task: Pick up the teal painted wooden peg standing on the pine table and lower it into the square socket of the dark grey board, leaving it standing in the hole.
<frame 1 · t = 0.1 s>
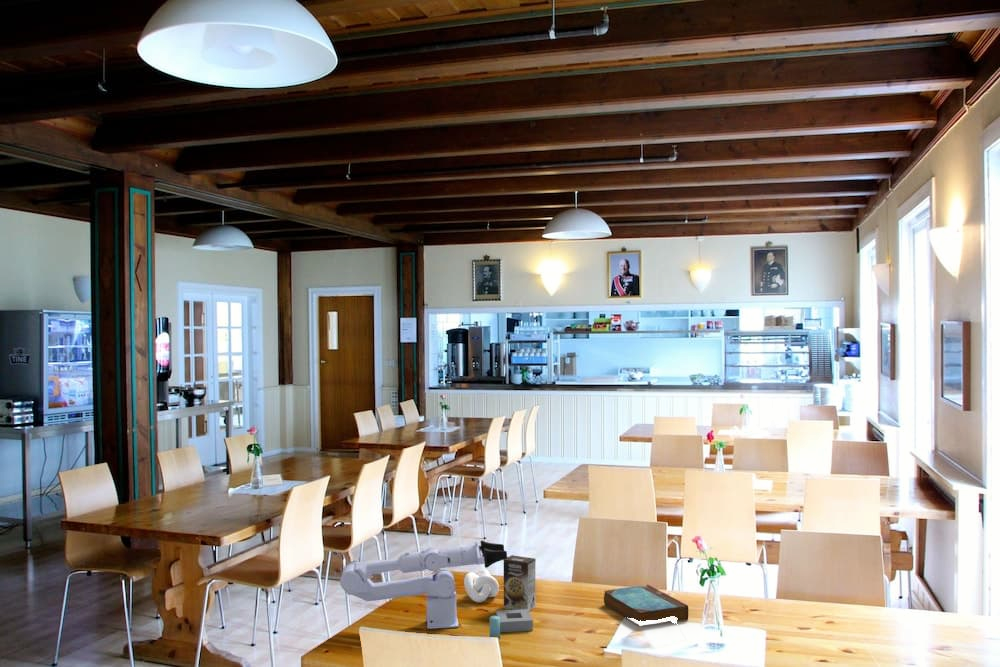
hand: (505, 551, 244), 22 cm above the table, tool horizontal, fingers open, 7 cm apart
white knot sculpture: (479, 598, 266), on the table
peg: (494, 638, 230), on the table
coffee box: (519, 608, 256), on the table
socket board: (514, 625, 240), on the table
book: (644, 614, 250), on the table
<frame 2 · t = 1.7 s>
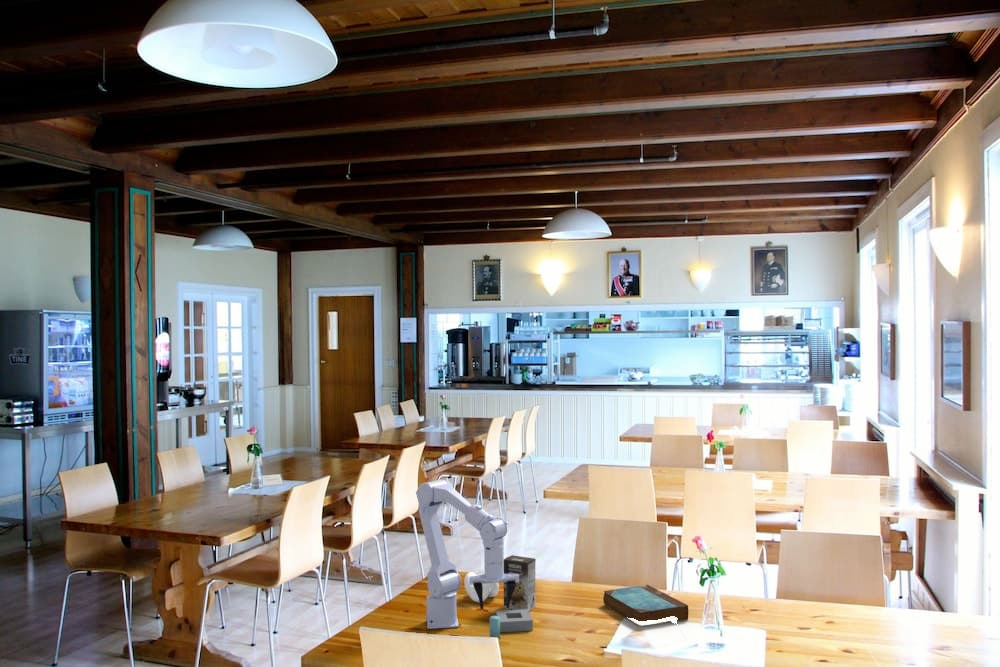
hand: (494, 607, 230), 9 cm above the table, tool pointing down, fingers open, 7 cm apart
nothing on the table moved.
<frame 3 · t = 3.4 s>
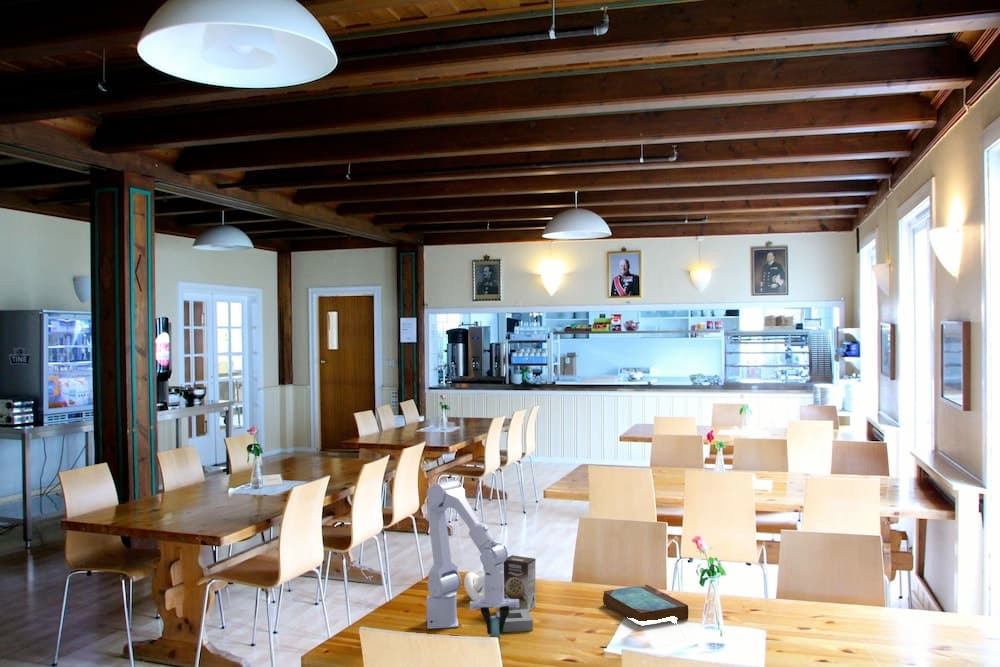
hand: (494, 632, 230), 2 cm above the table, tool pointing down, fingers closed on peg, 3 cm apart
peg: (494, 638, 230), on the table, touching gripper
everything else where it was.
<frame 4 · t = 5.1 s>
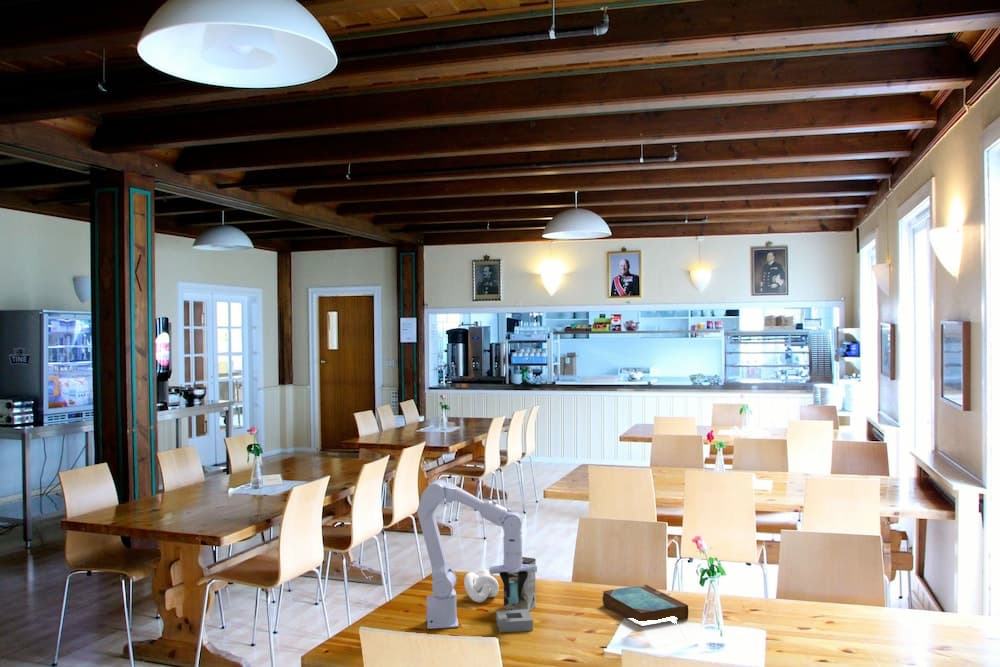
hand: (513, 596, 240), 9 cm above the table, tool pointing down, fingers closed on peg, 3 cm apart
peg: (513, 602, 240), point 7 cm above the table, touching gripper
everything else where it was.
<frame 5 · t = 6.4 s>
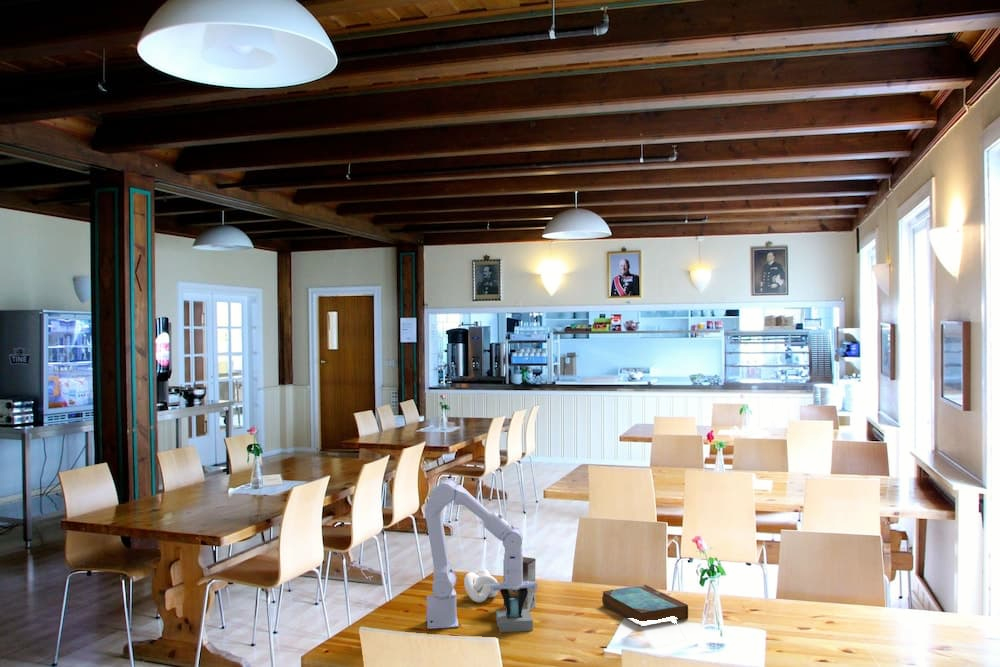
hand: (514, 613, 240), 4 cm above the table, tool pointing down, fingers closed on peg, 3 cm apart
peg: (514, 619, 240), point 2 cm above the table, touching gripper
everything else where it was.
when the fingers open (4 cm above the table, at t = 7.1 s): peg drops 2 cm, resting on socket board.
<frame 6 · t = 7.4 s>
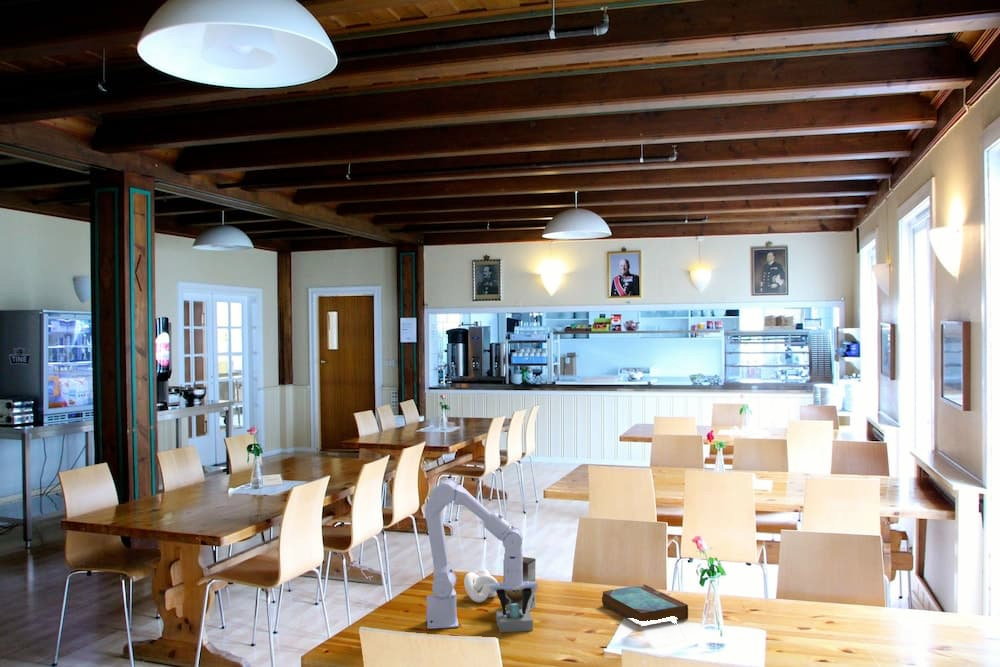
hand: (514, 613, 240), 4 cm above the table, tool pointing down, fingers open, 5 cm apart
peg: (514, 624, 240), resting on socket board
everything else where it was.
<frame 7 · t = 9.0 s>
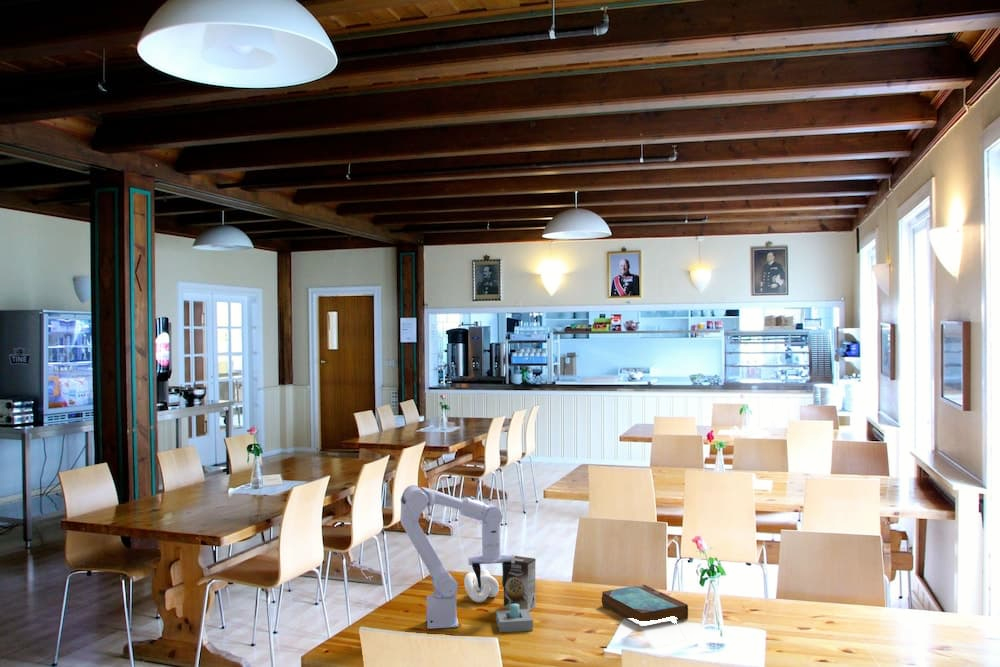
hand: (491, 586, 247), 10 cm above the table, tool pointing down, fingers open, 7 cm apart
nothing on the table moved.
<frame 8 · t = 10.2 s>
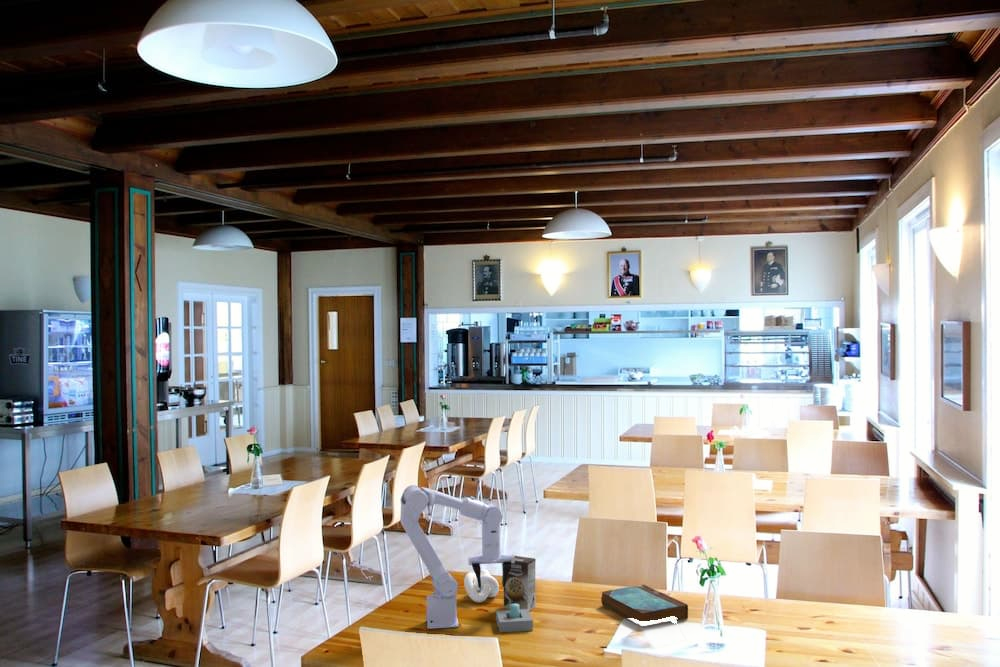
hand: (491, 586, 247), 10 cm above the table, tool pointing down, fingers open, 7 cm apart
nothing on the table moved.
at the end: peg 0.2 cm off-centre on the socket board, point 0.2 cm above the socket board's base; peg tilted 0°; the gripper is holding nothing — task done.
